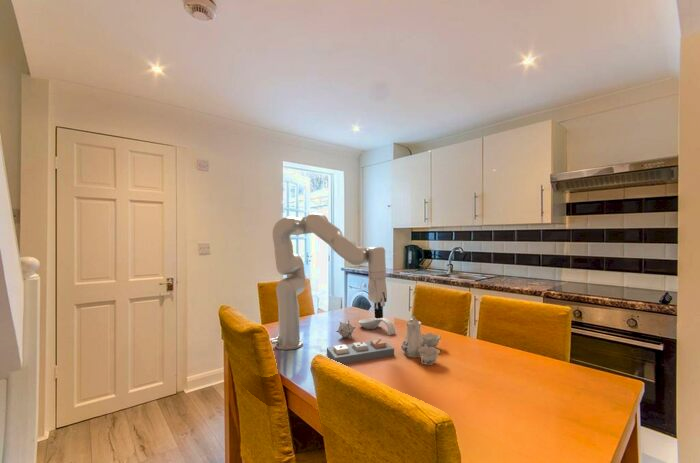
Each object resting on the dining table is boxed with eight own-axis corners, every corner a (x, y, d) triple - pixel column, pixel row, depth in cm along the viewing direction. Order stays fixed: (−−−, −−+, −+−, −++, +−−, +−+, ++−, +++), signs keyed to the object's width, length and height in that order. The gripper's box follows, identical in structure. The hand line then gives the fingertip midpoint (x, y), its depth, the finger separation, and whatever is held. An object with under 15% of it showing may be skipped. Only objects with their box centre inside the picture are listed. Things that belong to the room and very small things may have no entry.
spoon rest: (354, 327, 178) (354, 314, 178) (370, 323, 186) (370, 310, 186) (384, 337, 160) (384, 323, 160) (400, 332, 167) (400, 318, 167)
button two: (356, 352, 134) (356, 346, 134) (352, 348, 138) (352, 342, 138) (368, 351, 135) (367, 345, 135) (363, 347, 140) (363, 341, 140)
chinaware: (443, 373, 121) (447, 330, 121) (398, 366, 125) (402, 323, 124) (438, 347, 149) (441, 311, 148) (401, 342, 152) (404, 307, 152)
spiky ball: (349, 346, 159) (355, 333, 154) (333, 340, 159) (338, 326, 154) (352, 332, 166) (358, 319, 161) (337, 326, 167) (342, 313, 161)
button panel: (335, 365, 127) (335, 357, 127) (326, 354, 138) (326, 347, 138) (394, 355, 136) (394, 348, 136) (381, 346, 147) (381, 339, 147)
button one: (337, 355, 131) (337, 349, 131) (333, 351, 135) (333, 345, 135) (348, 354, 132) (348, 347, 132) (344, 350, 137) (344, 344, 137)
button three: (375, 349, 137) (375, 343, 137) (370, 346, 141) (370, 340, 141) (386, 348, 138) (386, 342, 138) (381, 344, 143) (381, 338, 143)
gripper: (362, 274, 146) (364, 315, 145) (376, 278, 132) (378, 323, 131) (377, 273, 148) (379, 313, 148) (393, 276, 134) (394, 320, 134)
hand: (378, 317), depth 140 cm, fingers closed
